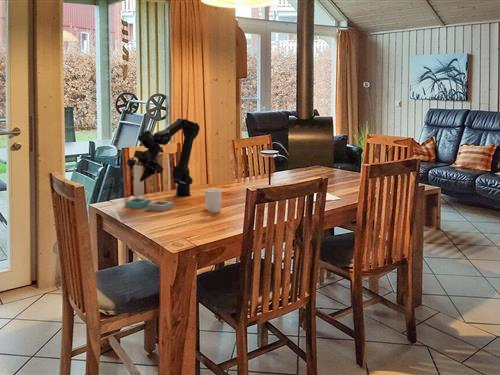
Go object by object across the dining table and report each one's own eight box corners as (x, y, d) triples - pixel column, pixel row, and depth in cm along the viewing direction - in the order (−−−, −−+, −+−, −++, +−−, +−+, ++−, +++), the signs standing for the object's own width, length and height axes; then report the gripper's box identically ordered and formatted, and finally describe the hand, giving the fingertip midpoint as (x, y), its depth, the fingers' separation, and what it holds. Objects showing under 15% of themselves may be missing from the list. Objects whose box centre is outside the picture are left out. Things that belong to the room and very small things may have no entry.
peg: (144, 193, 248) (143, 164, 245) (143, 195, 244) (142, 166, 241) (135, 193, 248) (134, 164, 245) (133, 195, 244) (132, 166, 241)
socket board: (175, 208, 246) (175, 201, 245) (162, 214, 236) (162, 206, 235) (137, 204, 254) (136, 197, 254) (122, 209, 245) (122, 201, 244)
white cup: (215, 213, 237) (215, 192, 235) (201, 211, 241) (201, 190, 239) (225, 210, 244) (225, 189, 242) (211, 208, 248) (211, 187, 246)
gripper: (128, 142, 249) (112, 168, 242) (158, 145, 240) (143, 172, 233) (140, 156, 257) (125, 182, 250) (169, 159, 248) (155, 186, 241)
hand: (136, 180), depth 243 cm, fingers closed on peg, 4 cm apart
